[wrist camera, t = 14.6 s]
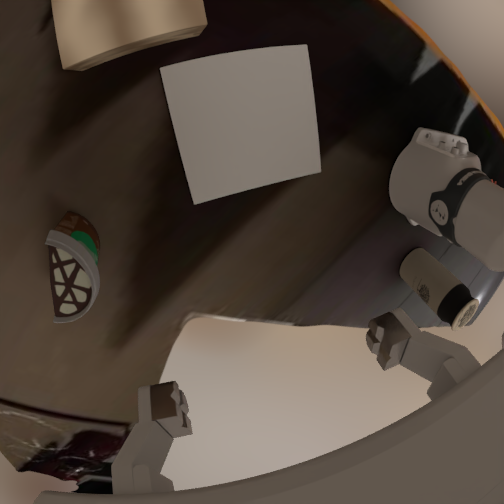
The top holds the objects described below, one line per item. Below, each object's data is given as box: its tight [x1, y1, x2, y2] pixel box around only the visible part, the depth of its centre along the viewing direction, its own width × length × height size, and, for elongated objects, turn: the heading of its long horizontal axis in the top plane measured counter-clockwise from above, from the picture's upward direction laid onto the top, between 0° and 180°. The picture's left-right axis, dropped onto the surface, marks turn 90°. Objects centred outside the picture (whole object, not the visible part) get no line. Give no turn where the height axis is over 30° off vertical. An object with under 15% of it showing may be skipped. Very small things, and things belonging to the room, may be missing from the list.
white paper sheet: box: [160, 45, 321, 205], centre depth 34 cm, size 18×18×1 cm
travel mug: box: [400, 248, 479, 331], centre depth 51 cm, size 8×8×18 cm
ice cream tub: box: [45, 212, 100, 323], centre depth 33 cm, size 12×6×10 cm, turn 161°
